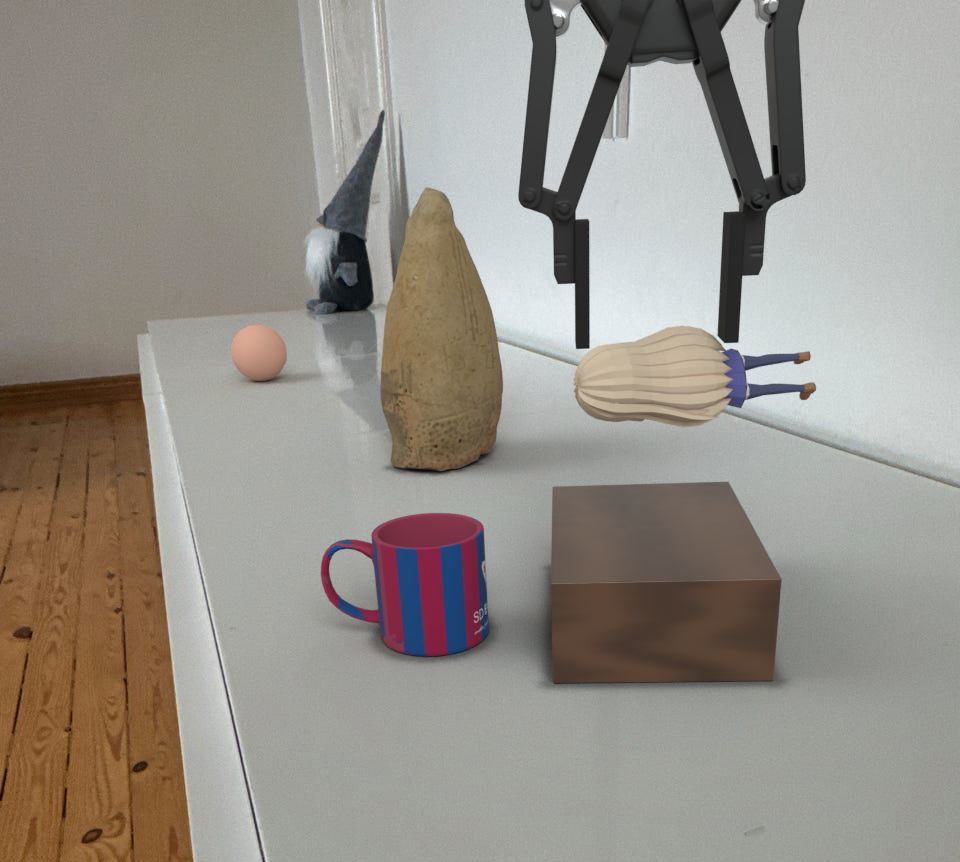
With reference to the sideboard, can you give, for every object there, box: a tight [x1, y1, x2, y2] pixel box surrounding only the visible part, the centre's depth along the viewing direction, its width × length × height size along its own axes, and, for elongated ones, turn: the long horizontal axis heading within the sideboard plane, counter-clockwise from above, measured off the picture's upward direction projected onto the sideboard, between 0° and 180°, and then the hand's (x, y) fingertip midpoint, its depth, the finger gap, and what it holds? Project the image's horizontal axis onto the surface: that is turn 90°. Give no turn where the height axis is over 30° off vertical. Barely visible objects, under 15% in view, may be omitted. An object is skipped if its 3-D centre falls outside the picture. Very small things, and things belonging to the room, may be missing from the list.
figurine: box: [573, 325, 817, 428], centre depth 57 cm, size 6×4×15 cm
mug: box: [320, 512, 490, 657], centre depth 61 cm, size 7×10×7 cm
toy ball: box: [230, 323, 288, 382], centre depth 145 cm, size 8×8×8 cm
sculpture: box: [379, 187, 504, 472], centre depth 95 cm, size 12×11×25 cm
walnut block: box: [550, 481, 782, 684], centre depth 62 cm, size 12×18×6 cm, turn 176°
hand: (654, 341), depth 56 cm, fingers closed on figurine, 7 cm apart
